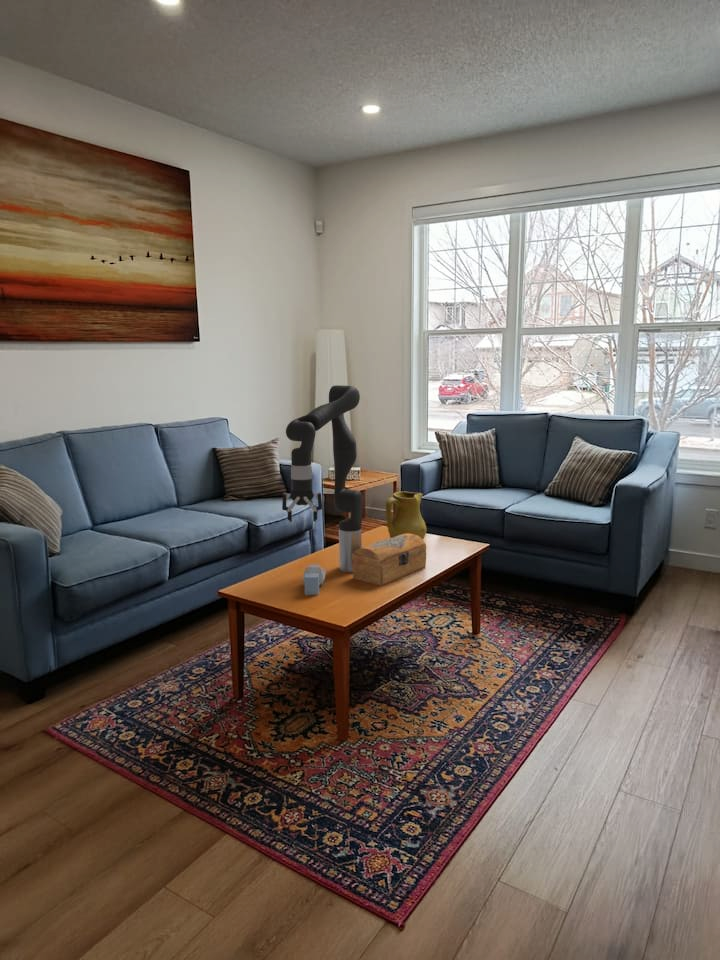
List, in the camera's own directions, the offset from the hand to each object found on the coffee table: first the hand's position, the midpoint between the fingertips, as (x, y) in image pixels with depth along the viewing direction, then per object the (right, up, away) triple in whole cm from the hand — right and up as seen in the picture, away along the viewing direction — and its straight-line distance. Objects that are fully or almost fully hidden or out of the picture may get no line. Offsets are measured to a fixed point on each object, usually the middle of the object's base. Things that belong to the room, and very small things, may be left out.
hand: (302, 521), depth 244 cm
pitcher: (+42, -16, +66) cm, 80 cm away
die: (+3, -22, +8) cm, 23 cm away
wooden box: (+33, -23, +28) cm, 49 cm away
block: (+3, -27, +6) cm, 28 cm away
